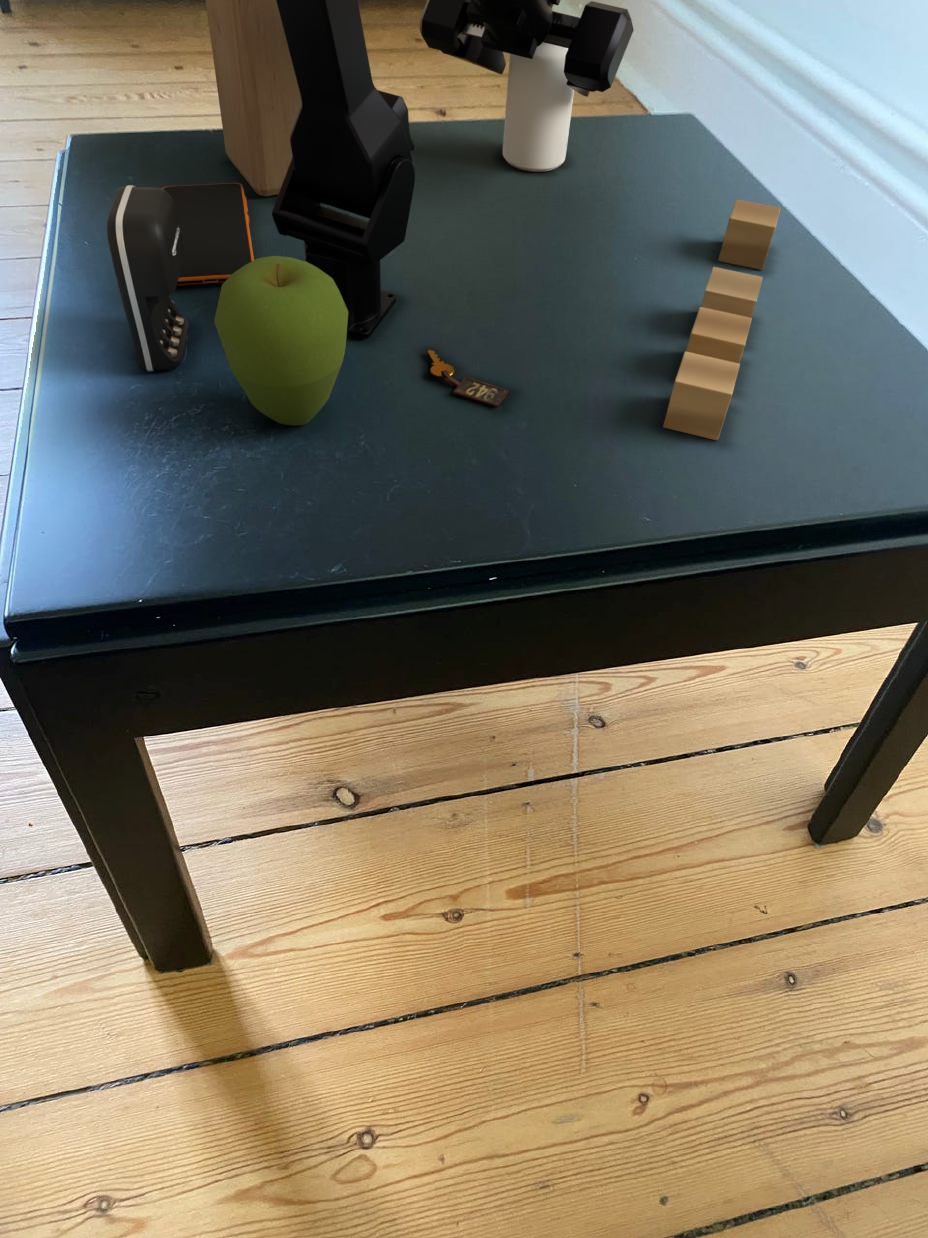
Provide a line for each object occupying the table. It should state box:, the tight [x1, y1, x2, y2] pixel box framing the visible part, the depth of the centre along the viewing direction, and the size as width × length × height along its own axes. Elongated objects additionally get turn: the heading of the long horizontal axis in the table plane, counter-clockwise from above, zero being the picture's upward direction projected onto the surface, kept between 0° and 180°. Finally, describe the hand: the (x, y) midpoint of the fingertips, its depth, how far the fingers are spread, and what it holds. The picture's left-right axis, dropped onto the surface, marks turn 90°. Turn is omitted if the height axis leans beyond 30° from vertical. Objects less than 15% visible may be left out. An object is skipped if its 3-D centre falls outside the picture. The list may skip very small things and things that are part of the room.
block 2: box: [700, 266, 764, 319], centre depth 76 cm, size 4×4×4 cm
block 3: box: [685, 306, 753, 364], centre depth 72 cm, size 4×4×4 cm
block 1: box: [717, 198, 781, 271], centre depth 85 cm, size 4×4×4 cm
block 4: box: [662, 351, 741, 441], centre depth 68 cm, size 4×4×4 cm
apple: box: [213, 255, 348, 427], centre depth 63 cm, size 9×8×12 cm
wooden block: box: [205, 0, 301, 197], centre depth 85 cm, size 10×10×20 cm
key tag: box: [427, 349, 510, 408], centre depth 71 cm, size 8×3×1 cm, turn 51°
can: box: [502, 42, 575, 173], centre depth 93 cm, size 6×6×12 cm
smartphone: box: [161, 182, 255, 286], centre depth 83 cm, size 8×17×1 cm, turn 12°
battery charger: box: [106, 184, 190, 372], centre depth 68 cm, size 7×4×11 cm, turn 4°
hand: (544, 79), depth 92 cm, fingers open, 9 cm apart
